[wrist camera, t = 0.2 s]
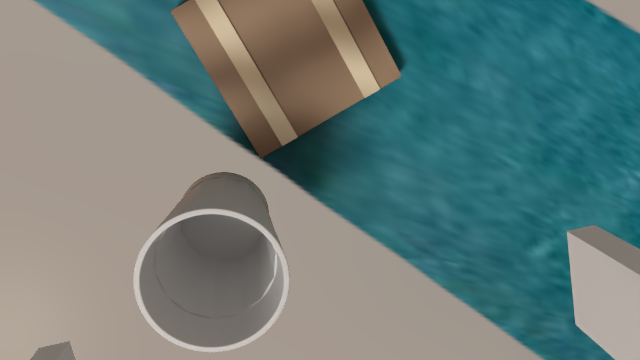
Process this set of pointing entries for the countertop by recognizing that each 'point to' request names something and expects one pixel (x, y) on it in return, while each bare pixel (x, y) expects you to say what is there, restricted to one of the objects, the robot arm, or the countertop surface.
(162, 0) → the countertop surface
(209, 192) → the cup
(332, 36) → the striped wooden coaster
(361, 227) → the countertop surface
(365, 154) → the countertop surface
